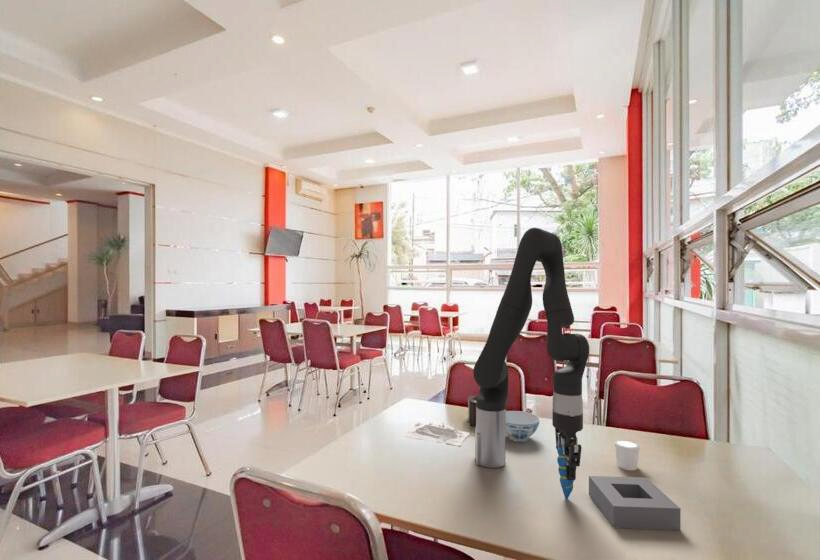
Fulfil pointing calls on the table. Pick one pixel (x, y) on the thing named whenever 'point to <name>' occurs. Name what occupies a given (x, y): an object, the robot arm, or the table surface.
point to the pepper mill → (472, 410)
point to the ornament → (564, 473)
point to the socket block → (634, 503)
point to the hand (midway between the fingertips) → (567, 474)
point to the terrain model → (437, 433)
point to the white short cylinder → (627, 454)
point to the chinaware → (521, 425)
